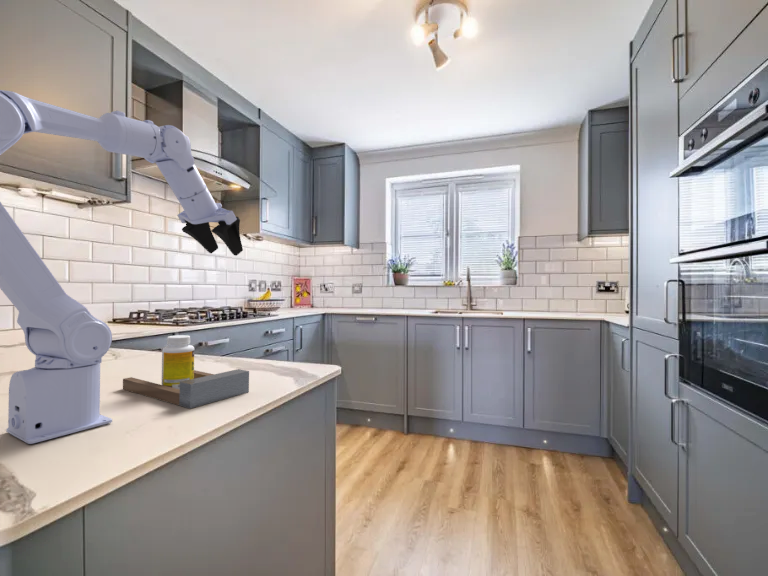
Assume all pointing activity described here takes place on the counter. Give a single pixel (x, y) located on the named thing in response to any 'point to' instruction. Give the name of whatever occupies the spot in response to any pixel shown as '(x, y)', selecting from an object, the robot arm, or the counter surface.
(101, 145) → the robot arm
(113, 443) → the counter surface
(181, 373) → the supplement bottle
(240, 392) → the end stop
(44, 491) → the counter surface
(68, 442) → the counter surface
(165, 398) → the guide rails
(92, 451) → the counter surface
